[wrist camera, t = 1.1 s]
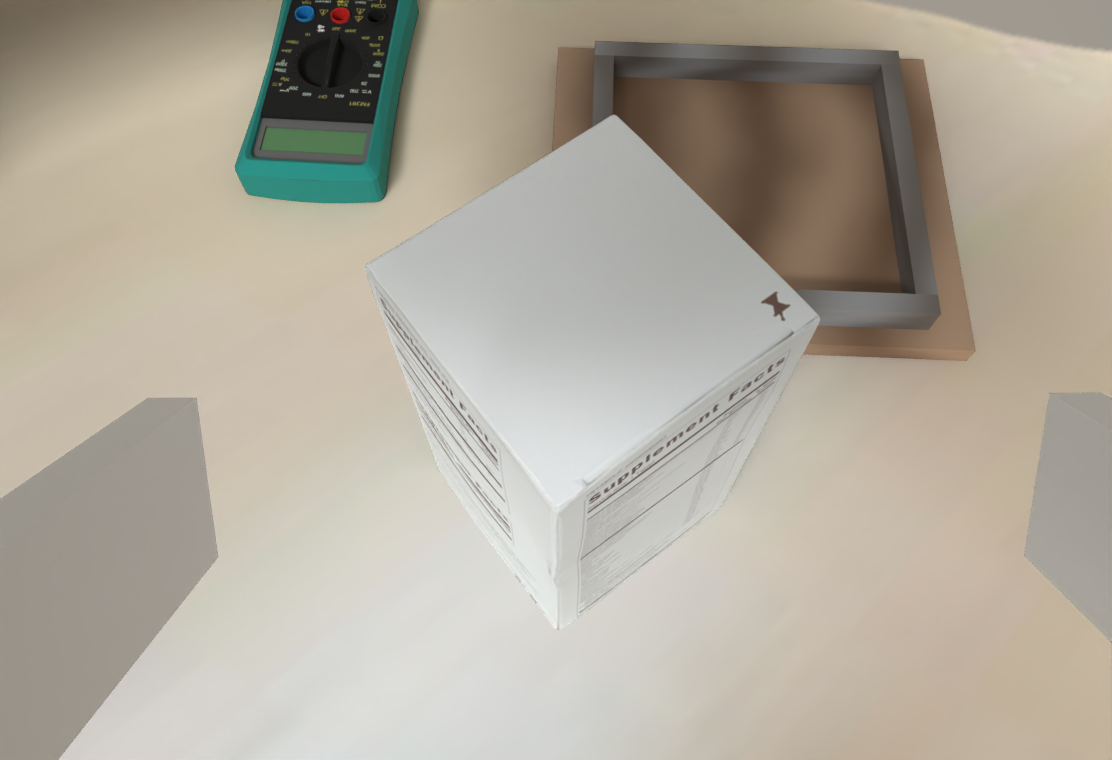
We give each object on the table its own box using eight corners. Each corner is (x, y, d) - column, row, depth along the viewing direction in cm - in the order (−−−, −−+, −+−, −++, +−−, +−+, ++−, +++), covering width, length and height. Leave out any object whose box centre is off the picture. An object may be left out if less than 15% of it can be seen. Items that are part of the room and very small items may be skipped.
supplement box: (598, 354, 42) (622, 98, 27) (729, 503, 39) (839, 308, 24) (429, 469, 40) (351, 259, 25) (554, 639, 37) (553, 517, 21)
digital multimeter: (422, 6, 53) (415, -36, 50) (385, 212, 46) (375, 175, 44) (299, 1, 53) (286, -41, 50) (245, 205, 47) (226, 168, 44)
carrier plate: (541, 343, 43) (541, 317, 40) (558, 61, 50) (558, 26, 48) (966, 360, 42) (989, 335, 40) (916, 73, 50) (933, 38, 48)
